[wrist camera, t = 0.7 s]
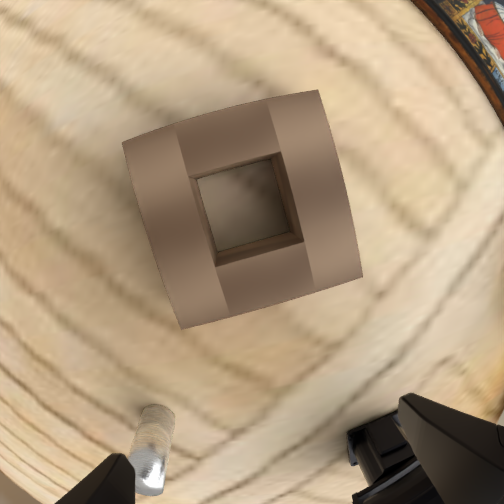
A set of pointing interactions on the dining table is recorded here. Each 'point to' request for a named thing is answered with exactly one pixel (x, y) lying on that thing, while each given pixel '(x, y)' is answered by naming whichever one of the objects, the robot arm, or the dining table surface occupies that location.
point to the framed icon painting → (474, 40)
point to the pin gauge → (152, 449)
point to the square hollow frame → (259, 252)
